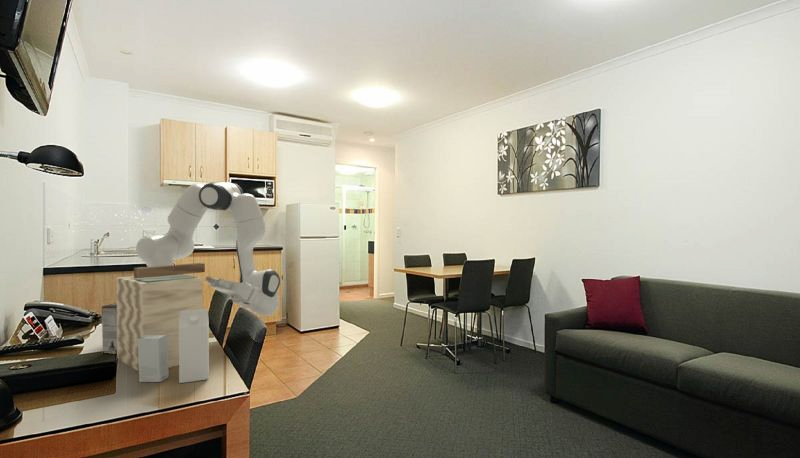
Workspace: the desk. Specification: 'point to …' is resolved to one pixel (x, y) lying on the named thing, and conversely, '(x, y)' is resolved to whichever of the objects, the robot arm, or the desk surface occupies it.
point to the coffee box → (109, 327)
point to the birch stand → (153, 312)
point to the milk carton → (193, 345)
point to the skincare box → (153, 358)
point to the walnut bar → (168, 270)
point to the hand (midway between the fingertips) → (212, 279)
